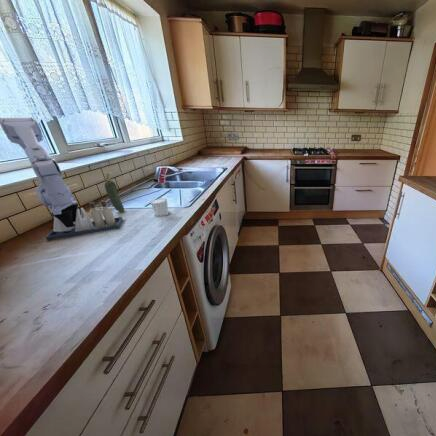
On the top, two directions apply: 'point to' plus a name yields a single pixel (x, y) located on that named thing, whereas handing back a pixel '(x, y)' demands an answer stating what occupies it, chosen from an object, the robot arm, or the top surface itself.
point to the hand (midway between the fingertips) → (72, 224)
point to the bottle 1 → (97, 216)
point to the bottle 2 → (108, 214)
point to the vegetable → (113, 193)
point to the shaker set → (80, 224)
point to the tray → (58, 235)
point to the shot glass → (160, 207)
